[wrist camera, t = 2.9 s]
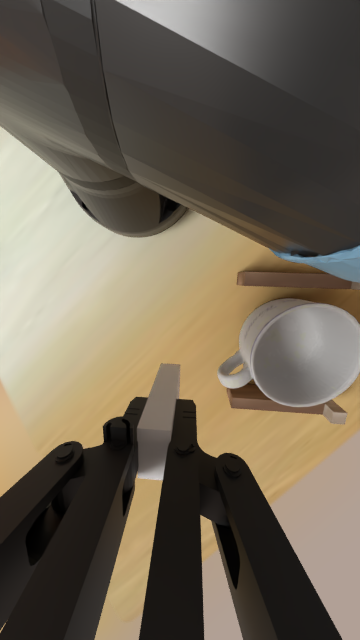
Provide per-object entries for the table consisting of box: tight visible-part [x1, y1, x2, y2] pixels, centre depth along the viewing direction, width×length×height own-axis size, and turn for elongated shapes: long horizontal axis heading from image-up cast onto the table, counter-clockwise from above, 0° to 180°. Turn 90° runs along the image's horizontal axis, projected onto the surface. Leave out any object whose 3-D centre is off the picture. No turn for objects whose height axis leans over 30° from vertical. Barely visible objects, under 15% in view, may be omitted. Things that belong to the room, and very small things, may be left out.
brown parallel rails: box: [227, 272, 360, 424], centre depth 23 cm, size 17×13×5 cm
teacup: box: [217, 298, 360, 407], centre depth 22 cm, size 14×11×8 cm
